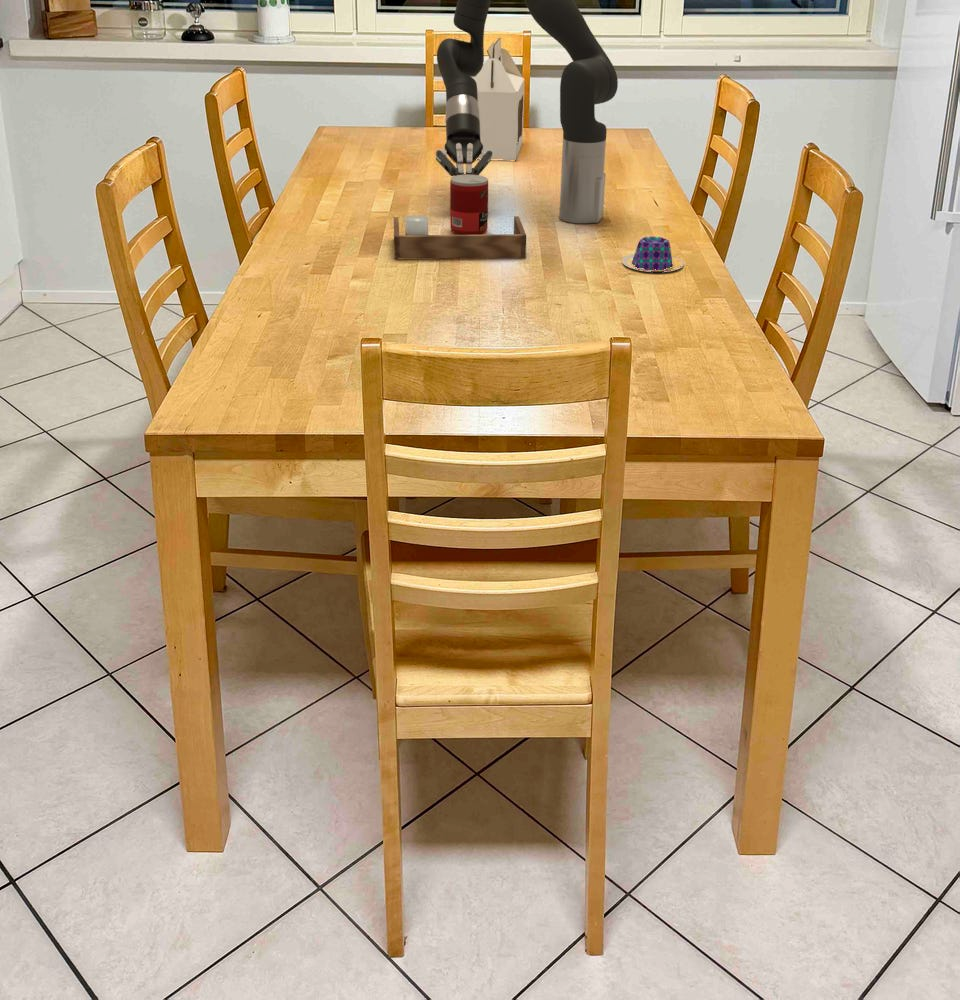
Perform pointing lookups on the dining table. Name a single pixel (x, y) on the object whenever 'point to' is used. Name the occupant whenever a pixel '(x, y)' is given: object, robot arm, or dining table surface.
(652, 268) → the patterned hat
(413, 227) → the grey rounded capsule
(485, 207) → the canned food
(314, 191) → the dining table surface
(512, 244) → the u-shaped frame
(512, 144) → the gable box
